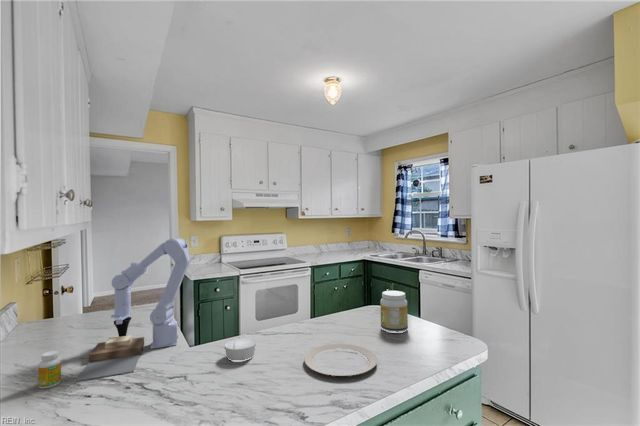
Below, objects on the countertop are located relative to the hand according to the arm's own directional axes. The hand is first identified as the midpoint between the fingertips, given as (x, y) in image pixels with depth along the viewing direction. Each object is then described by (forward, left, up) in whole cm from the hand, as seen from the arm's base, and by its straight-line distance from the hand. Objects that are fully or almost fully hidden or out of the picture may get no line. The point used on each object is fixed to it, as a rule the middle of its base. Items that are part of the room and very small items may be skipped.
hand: (122, 336), depth 129 cm
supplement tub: (-112, +29, -4) cm, 116 cm away
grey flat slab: (0, +21, -4) cm, 21 cm away
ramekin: (-43, +30, -4) cm, 53 cm away
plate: (-75, +49, -4) cm, 90 cm away
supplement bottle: (+15, +26, -4) cm, 31 cm away
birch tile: (0, +6, -1) cm, 7 cm away
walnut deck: (0, +7, -4) cm, 8 cm away
